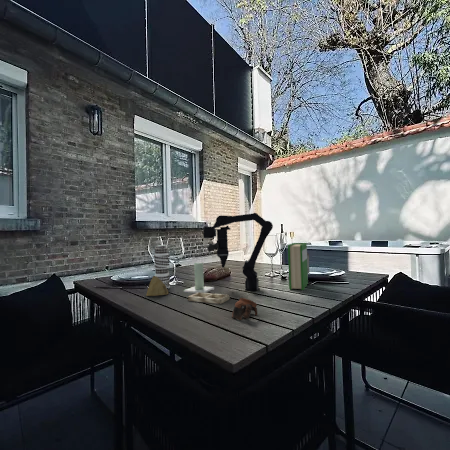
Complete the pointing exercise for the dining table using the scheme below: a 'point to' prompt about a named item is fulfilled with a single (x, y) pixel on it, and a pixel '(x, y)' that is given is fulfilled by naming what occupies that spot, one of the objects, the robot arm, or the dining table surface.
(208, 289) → the board
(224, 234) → the robot arm
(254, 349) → the dining table surface
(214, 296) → the frame
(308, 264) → the coffee box
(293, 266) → the hardback book
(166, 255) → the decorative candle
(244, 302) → the brown lumpy piece
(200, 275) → the round block
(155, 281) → the rock
